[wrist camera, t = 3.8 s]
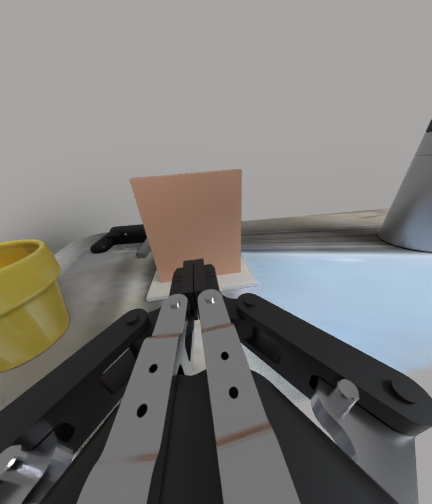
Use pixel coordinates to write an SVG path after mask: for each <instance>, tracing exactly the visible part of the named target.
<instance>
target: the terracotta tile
mask: <svg viewBox="0 0 432 504" xmlns="http://www.w3.org/2000/svg"><path fill="white" fill-rule="evenodd" d="M241 174H242V170H241V169H234V170H223V171H210V172H198V173H186V174H175V175H163V176H152V177H139V178H132V179H129V180H130V183H131V186H132V190H133V193H134V196H135V199H136V203H137V206H138V209H139V212H140V215H141V219H142V222H143V225H144V228H145V232H146V235H147V238H148V241H149V244H150V248H151V251H152V254H153V257H154V261H155V264H156V267H157V270H158V273H159V277H160V280H161V283H166V282H172V278H173V273H174V271H175V270H176V269H177V268H183V261H186V260H194V259H202V258H203V259H204V265H206V264H212V265H213V266H214V267H215V271H216V276H218V275H225V274H232V273H239V272H241V177H242V175H241Z"/></svg>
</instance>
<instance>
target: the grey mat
mask: <svg viewBox="0 0 432 504" xmlns="http://www.w3.org/2000/svg"><path fill="white" fill-rule="evenodd" d="M217 280H218V285H219V290H220V291H225V290H232V289H239V288H246V287H253V286H257V282H256V280H255V278H254V277H253V275H252V273H251V271H250V269H249V268H248V266H247V264H246V262H245V260H244V259H243V257H242V255H241V272H239V273H232V274H225V275H218V276H217ZM171 283H172V282H166V283H161V280H160V277H159V273H158V270H156V273H155V275H154V278H153V281H152V284H151V286H150V289H149V292H148V295H147V297H146V300H147V302H150V301H157V300H164V299H166V298H168V297H169V293H170V288H171Z"/></svg>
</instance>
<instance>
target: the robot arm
mask: <svg viewBox="0 0 432 504" xmlns="http://www.w3.org/2000/svg"><path fill="white" fill-rule="evenodd" d="M426 132H427V133H425V135H424V137H423V139H422V141H421V143H420V145H419V147H418V150H417V152H416V154H415V156H414V158H413V160H412V163H411V165H410V167H409V169H408V171H407V173H406V176H405V178H404V180H403V182H402V184H401V186H400V188H399V191H398V193H397V195H396V197H395V199H394V201H393V204H392V206H391V208H390V210H389V212H388V214H387V216H386V218H385V221H384V223H383V225H382V227H381V229H380V231H379V234H378V237H379V238H380V239H382V240H384V241H386V242H388V243H391V244H394V245H397V246H401V247H404V248H409V249H414V250H420V251H429V252H432V120H431V121H430V124H429V126H428V128H427V130H426ZM198 316H199V320H200V322H201V329H202V330H201V331H202V339H203V347H204V355H205V362H206V370H204V371H202V372H200V373H198V374H196V375H193V376H192V356H193V343H194V320H198ZM241 343H242V344H243V345H244V346H246V347H247V348H248V349H249V350H250V351H252V352H253V353H254V354H255V355H256V356H258V357H259V358H260V359H261V360H263V361H264V362H265V363H266V364H267V365H269V366H270V367H271V368H272V369H274V370H275V371H276V372H277V373H278V374H280V375H281V376H282V377H283V378H284V379H286V380H287V381H288V382H289V383H291V384H292V385H293V386H294V387H295V388H297V389H298V390H299V391H300V392H302V393H303V394H304V395H305V396H306V397H308V398H309V399H310V400H311V406H312V410H313V412H314V415H315V417H316V418H317V420H318V421H319V423H320V424H321V425H322V427H323V428H324V429H325V430H326V431H327V432H328V433H329V434H330V435H331V436H332V438H333V439H334V441H335V442H336V444H335V443H334V442H333V441H332V440H331V439H330V438H329V437H328V436H327V435H326V434H325V433H324V432H322V430H321V429H320V428H318V427H317V426H316V425H315V424H314V423H313V422H312V421H311V420H310V419H309V418H308V417H307V416H306V415H305V414H304V413H303V412H301V411H300V410H299V409H298V408H297V407H296V406H295V405H294V404H293V403H292V402H291V401H290V400H289V399H288V398H287V397H286V396H285V395H284V394H282V393H281V392H280V391H279V390H278V389H277V388H276V387H275V386H274V385H273V384H272V383H271V382H270V381H269V380H267V379H266V378H265V377H263V376H262V375H260V374H259V373H257V372H255V371H252V370H250V368H249V365H248V362H247V360H246V357H245V354H244V351H243V348H242V345H241ZM127 348H129V349H128V350H127V351H126V352H125V353H124V354H123V355H122V356H121V357H120V358H119V359H118V360H117V361H116V362H115V363H114V364H113V365H112V366H111V367H110V368H109V369H108V370H107V371H106V372H105V373H104V374H102V373H103V372H104V371H105V370H106V369H107V368H108V367H109V366H110V365H111V364H112V363H113V362H114V361H115V360H116V359H117V358H118V357H119V356H120V355H121V354H122V353H123V352H124V351H125V350H126V349H127ZM123 395H124V396H123ZM122 397H123V399H122V401H121V403H120V404H119V405H118V406H117V407H116V408H115V409H114V410H113V412H112V413H111V414H110V415H109V416H108V418H107V419H106V420H105V421H104V423H103V424H102V425H101V426H100V428H99V429H98V430H97V431H96V433H95V434H94V435H93V436H92V438H91V439H90V440H89V441H88V443H87V444H86V445H85V446H84V448H83V449H82V450H81V451H80V453H79V454H78V455H77V456H76V458H75V459H74V460H73V461H72V457H73V455H74V453H75V452H76V451H77V450H78V449H79V447H80V446H81V445H82V444H83V443H84V442H85V440H86V439H87V438H88V437H89V436H90V434H91V433H92V432H93V431H94V430H95V428H96V427H97V426H98V425H99V424H100V423H101V421H102V420H103V419H104V418H105V417H106V415H107V414H108V413H109V412H110V411H111V410H112V408H113V407H114V406H115V405H116V404H117V402H118V401H119V400H120V399H121V398H122ZM430 427H432V398H431V397H430V396H429V395H428V393H426V391H425V390H424V389H423V388H422V387H421V386H419V385H418V384H417V383H416V382H415V381H413V380H412V379H410V378H409V377H407V376H406V375H404V374H402V373H401V372H399V371H397V370H395V369H393V368H391V367H389V366H388V365H386V364H384V363H382V362H380V361H378V360H376V359H374V358H373V357H371V356H369V355H367V354H365V353H363V352H361V351H360V350H358V349H356V348H354V347H352V346H350V345H348V344H347V343H345V342H343V341H341V340H339V339H337V338H335V337H334V336H332V335H330V334H328V333H326V332H324V331H322V330H320V329H319V328H317V327H315V326H313V325H311V324H309V323H307V322H306V321H304V320H302V319H300V318H298V317H296V316H294V315H293V314H291V313H289V312H287V311H285V310H283V309H281V308H280V307H278V306H276V305H274V304H272V303H270V302H268V301H267V300H265V299H263V298H261V297H259V296H257V295H255V294H252V293H245V294H242V295H240V296H239V297H238V299H231V298H227V297H225V296H223V295H222V294H221V292H220V290H219V285H218V280H217V276H216V271H215V267H214V266H213V265H212V264H206V265H204V259H203V258H202V259H194V260H186V261H183V268H177V269H176V270H175V271H174V273H173V278H172V283H171V288H170V293H169V297H168V298H166V299H165V300H164V302H163V304H162V307H160V308H159V309H157V310H154V311H152V312H149V313H147V312H146V311H145V310H143V309H134V310H131V311H129V312H127V313H126V314H124V315H123V316H122V317H120V318H119V319H118V320H117V321H115V322H114V323H113V324H111V325H110V326H109V327H108V328H106V329H105V330H104V331H103V332H101V333H100V334H99V335H97V336H96V337H95V338H94V339H92V340H91V341H90V342H88V343H87V344H86V345H85V346H83V347H82V348H81V349H80V350H78V351H77V352H76V353H74V354H73V355H72V356H71V357H69V358H68V359H67V360H65V361H64V362H63V363H62V364H60V365H59V366H58V367H56V368H55V369H54V370H53V371H51V372H50V373H49V374H48V375H46V376H45V377H44V378H42V379H41V380H40V381H39V382H37V383H36V384H35V385H33V386H32V387H31V388H30V389H28V390H27V391H26V392H24V393H23V394H22V395H21V396H19V397H18V398H17V399H16V400H14V401H13V402H12V403H10V404H9V405H8V406H7V407H5V408H4V409H3V410H1V411H0V504H418V491H417V474H416V457H415V441H414V440H415V437H416V435H418V434H420V433H422V432H423V431H425V430H427V429H429V428H430ZM71 461H72V463H71Z"/></svg>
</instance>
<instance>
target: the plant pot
mask: <svg viewBox="0 0 432 504" xmlns="http://www.w3.org/2000/svg"><path fill="white" fill-rule="evenodd" d="M60 271H61V270H60V266H59V264H58V262H57V261H56V259H55V257H54V255H53V254H52V252H51V251H50V249H49V248H48V246H47V245H46V244H45V243H44V242H43V241H41V240H32V239H30V240H16V241H8V242H1V243H0V372H2V371H6V370H9V369H12V368H15V367H17V366H20V365H22V364H24V363H26V362H28V361H30V360H31V359H33V358H35V357H36V356H38V355H40V354H41V353H42V352H44V351H45V350H47V349H48V348H49V347H50V346H52V345H53V344H54V343H55V342H56V341H57V340H58V339H59V338H60V337H61V336H62V335H63V334H64V332H65V331H66V329H67V328H68V326H69V322H70V317H69V314H68V311H67V308H66V305H65V302H64V299H63V296H62V292H61V289H60V286H59V283H58V279H57V278H58V276H59V274H60Z"/></svg>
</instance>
